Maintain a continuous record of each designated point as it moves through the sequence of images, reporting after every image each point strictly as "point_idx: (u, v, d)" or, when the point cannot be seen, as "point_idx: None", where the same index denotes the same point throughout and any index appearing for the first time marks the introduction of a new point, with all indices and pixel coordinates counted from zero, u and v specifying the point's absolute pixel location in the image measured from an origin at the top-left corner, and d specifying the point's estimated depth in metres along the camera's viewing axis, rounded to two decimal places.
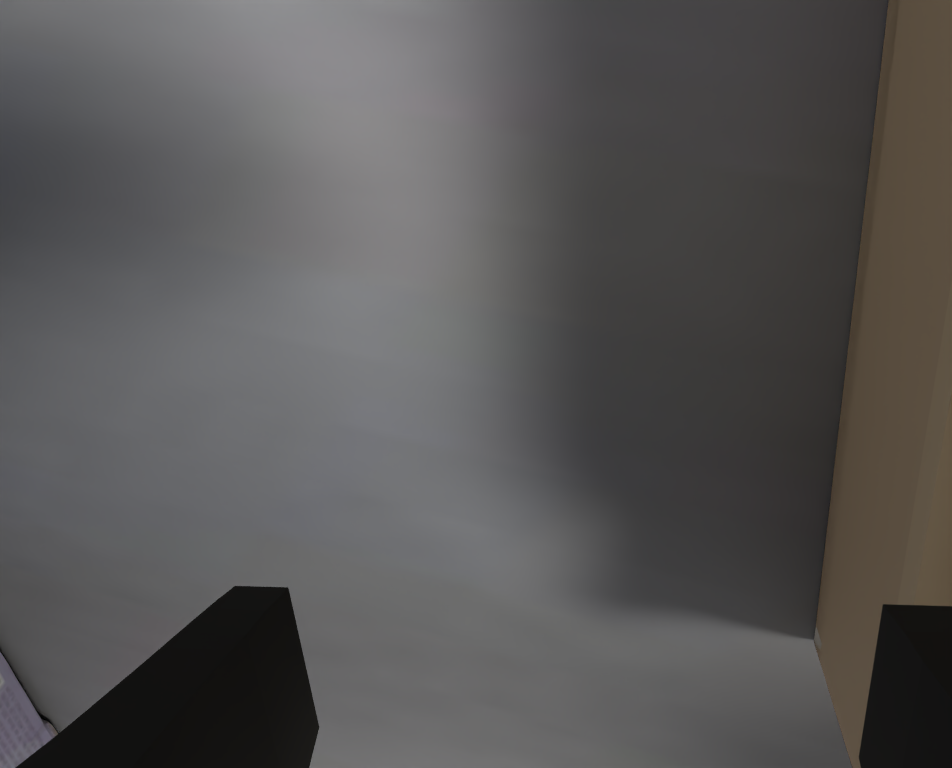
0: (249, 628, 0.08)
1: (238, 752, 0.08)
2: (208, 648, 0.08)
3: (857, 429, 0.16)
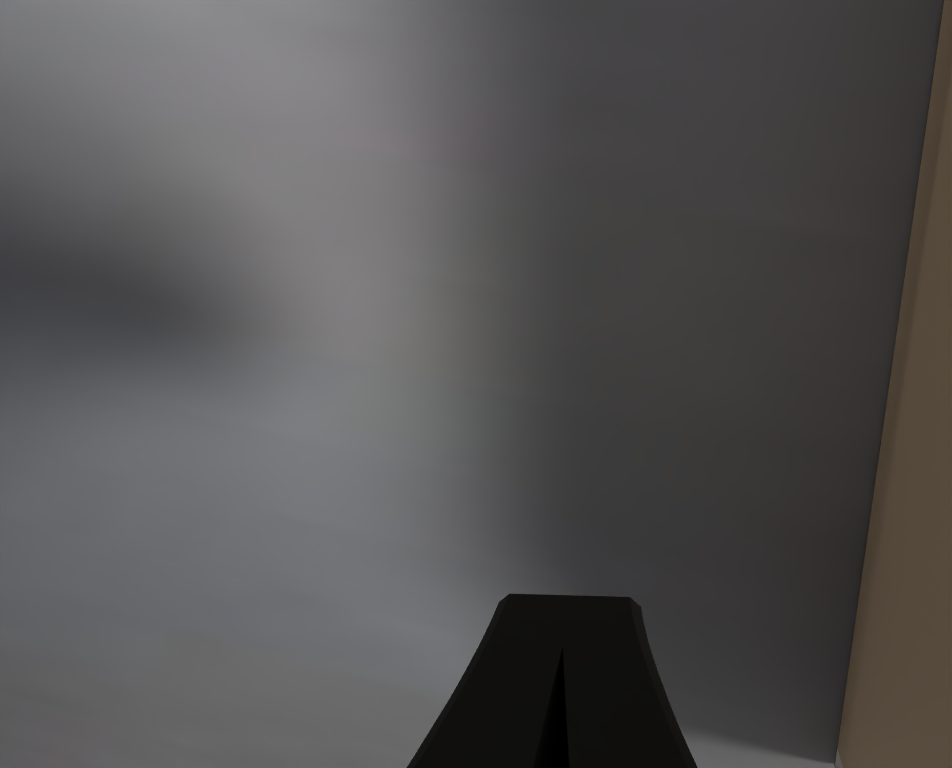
0: (559, 639, 0.07)
1: None
2: (530, 661, 0.07)
3: (895, 540, 0.13)
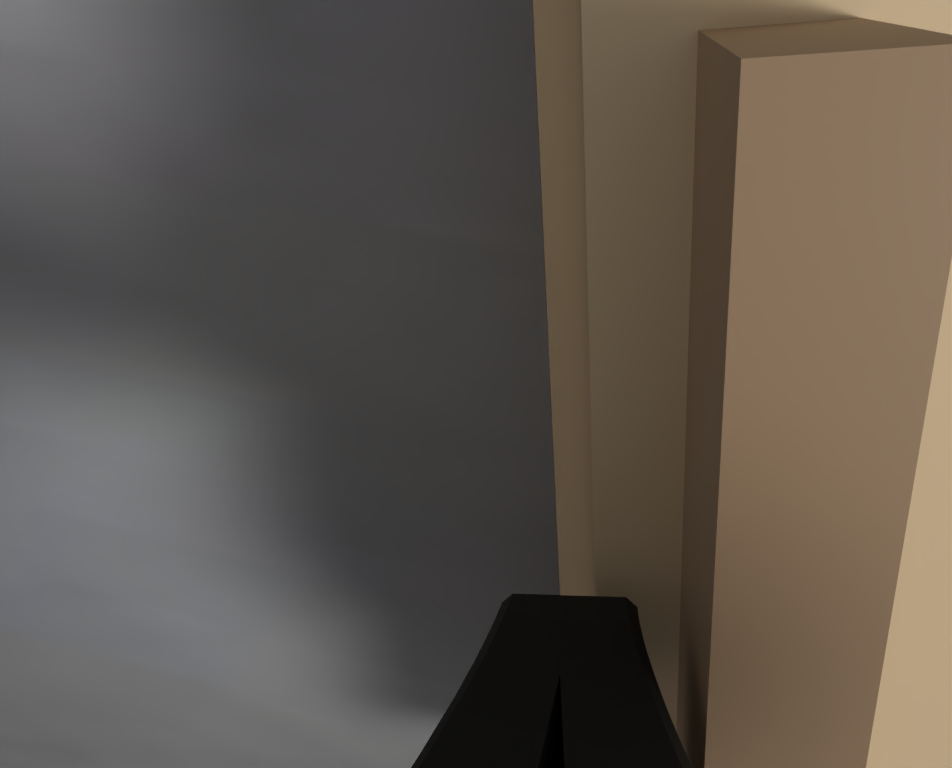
0: (563, 639, 0.07)
1: None
2: (534, 661, 0.07)
3: None
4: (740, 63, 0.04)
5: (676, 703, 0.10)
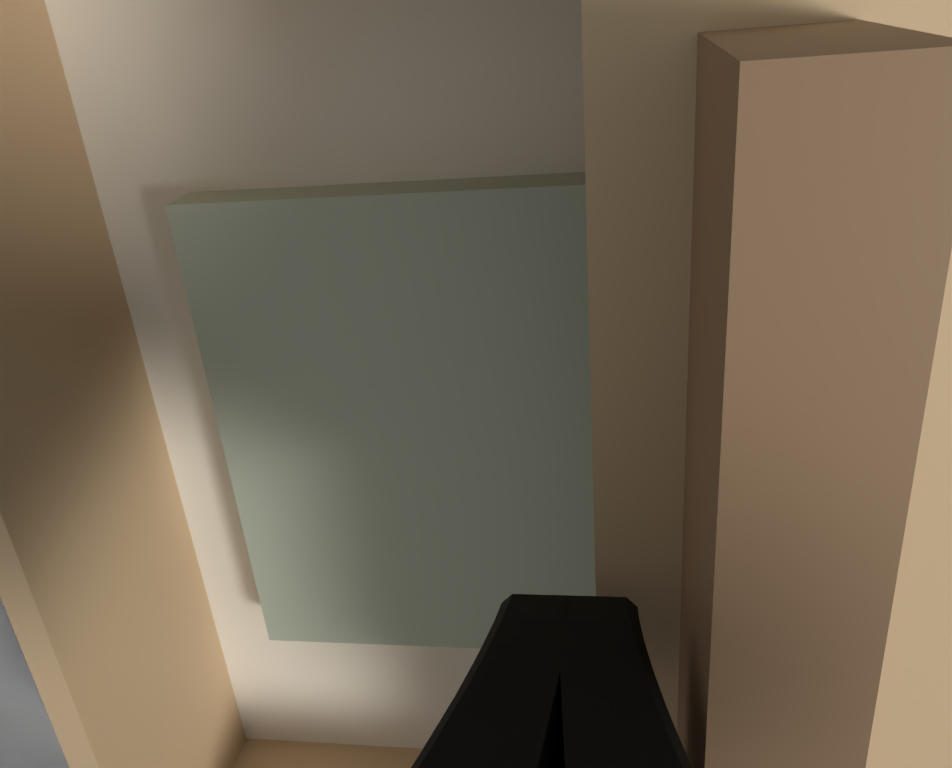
0: (563, 639, 0.07)
1: None
2: (534, 661, 0.07)
3: None
4: (740, 65, 0.04)
5: (677, 703, 0.10)
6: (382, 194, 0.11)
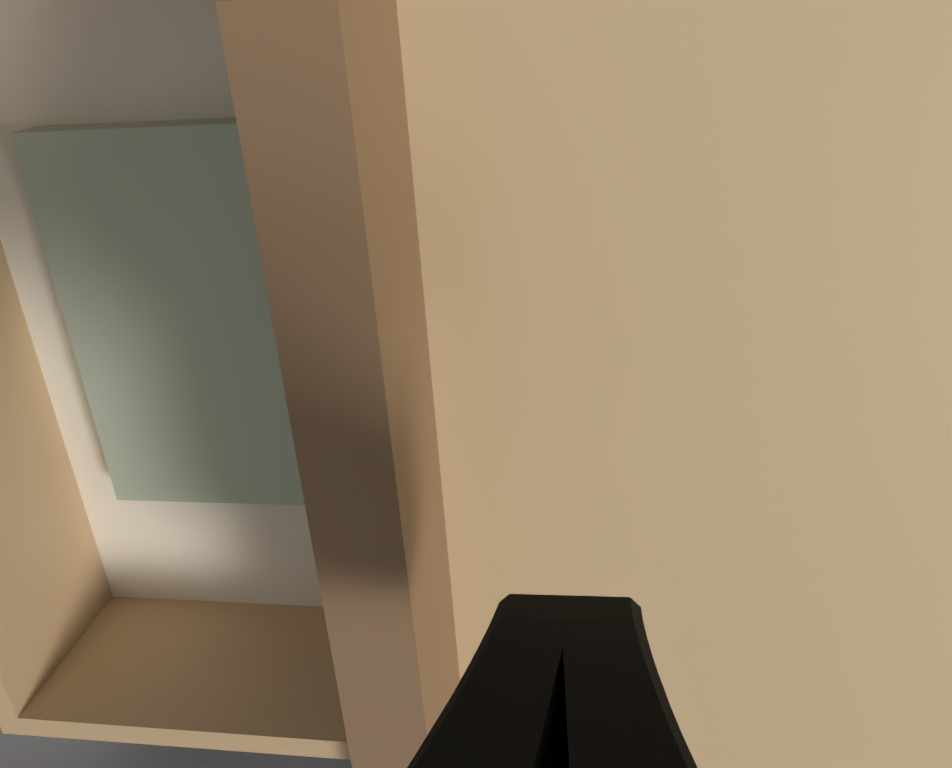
0: (559, 639, 0.07)
1: None
2: (530, 661, 0.07)
3: None
4: (215, 3, 0.08)
5: None
6: (172, 126, 0.15)
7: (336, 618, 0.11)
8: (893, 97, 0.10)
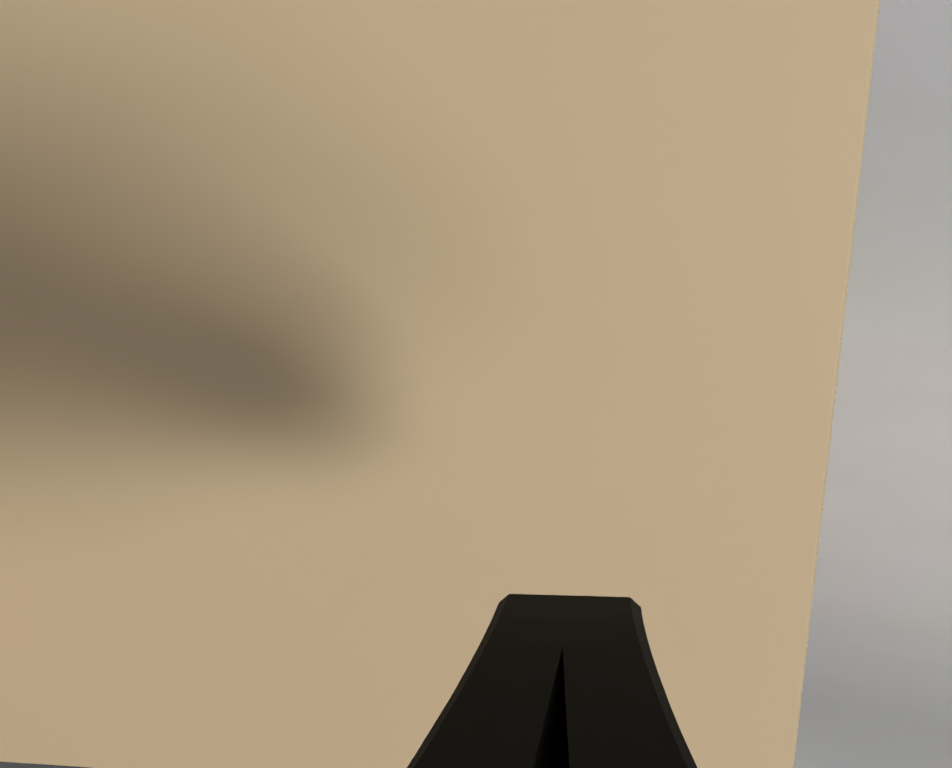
0: (559, 639, 0.07)
1: None
2: (530, 661, 0.07)
3: None
4: None
5: None
6: None
7: None
8: (49, 104, 0.11)
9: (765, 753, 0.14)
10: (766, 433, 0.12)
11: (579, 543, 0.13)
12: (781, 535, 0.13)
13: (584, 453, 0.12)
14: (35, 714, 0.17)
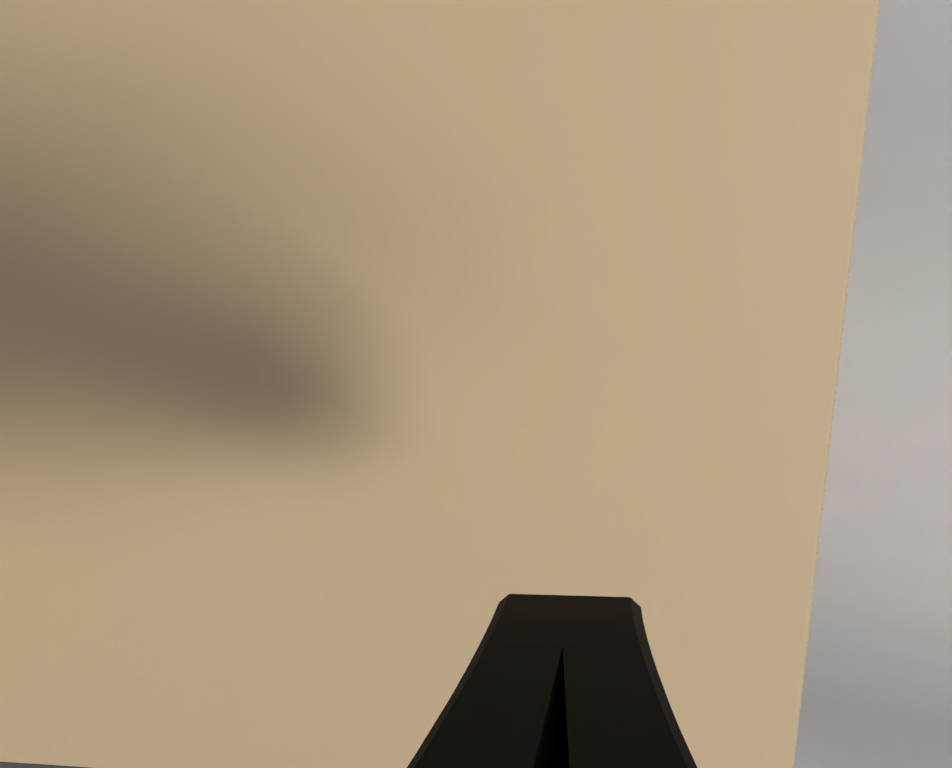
0: (559, 639, 0.07)
1: None
2: (530, 661, 0.07)
3: None
4: None
5: None
6: None
7: None
8: (49, 104, 0.11)
9: (765, 753, 0.14)
10: (766, 433, 0.12)
11: (579, 543, 0.13)
12: (781, 535, 0.13)
13: (584, 453, 0.12)
14: (35, 714, 0.17)
